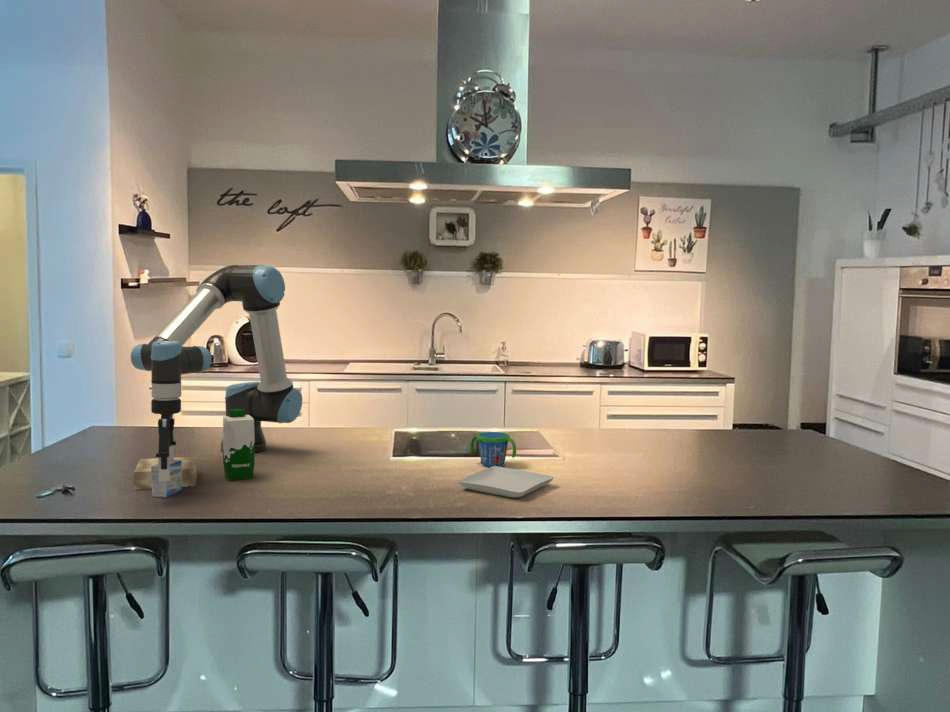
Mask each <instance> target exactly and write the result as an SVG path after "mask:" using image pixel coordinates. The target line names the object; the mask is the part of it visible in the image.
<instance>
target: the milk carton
mask: <svg viewBox="0 0 950 712" xmlns="http://www.w3.org/2000/svg"><path fill="white" fill-rule="evenodd" d="M222 439H223V452H222V457H223V458H222V464H223V471H224V476H225V477H226V478H227V480H228V481H238V480H240V481H241V480H249V479H254V473H255V472H254V471H255V455H256V452H255V442H254V419H253V418H252V417H251V416H250V415H244V409H231V410H230V416H226V415H223V416H222Z"/></svg>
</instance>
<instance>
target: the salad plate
mask: <svg viewBox="0 0 950 712" xmlns="http://www.w3.org/2000/svg"><path fill="white" fill-rule="evenodd" d="M553 480H554V476H552V475H547V474H542V473H537V472H531V471H526V470H522V469H515V468H511V467H510V468H509V467H503V466H501V467H498V466H493V467H487V468H485V469H482V470H479V471H478V472H476V473H473V474H470V475H467V476H466V477H463V478H460V479H458V480H457V483H458V484H459V485H460V486H462V487H464V488H465V489H468V490H472V491H475V492H479V491H480V493H484V492H485V494H489V493H491V494H490V495H495V494H496V495H495V496H500V495H501V497H507V498H512V499H513V498H522V497H524V496H526V495H528V494H530V493H532V492H533V491H536V490H537V489H541V488H543V487H545V486H546V485H548V484H550V483H551V482H552V481H553Z"/></svg>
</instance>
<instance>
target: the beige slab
mask: <svg viewBox="0 0 950 712" xmlns="http://www.w3.org/2000/svg"><path fill="white" fill-rule="evenodd" d="M173 460H181V461H182V488H185V487H186V488H188V486H191V487H196V484H197V478H198V456H178V457H173ZM158 463H159V457H155V458H140V459H139V460H138V463H137V465H136V467H135V468H134V471H133V489H134V490H135V491H136V490H149V489H151V490H152V480H151V466H153V465H156V464H158Z"/></svg>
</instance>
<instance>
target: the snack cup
mask: <svg viewBox="0 0 950 712" xmlns="http://www.w3.org/2000/svg"><path fill="white" fill-rule="evenodd" d="M476 439H477V441H478V448H479V449H478V450H479V456H480V463H481V465H482V466H483V467H485V468H486V467H487V468H490V467H493V466H498V467H503V466H504V465H505V462H506V457H507V451H508V445H509V442H510V443H511V447H512V454H511V457H512V459H514V458H515V457H516V455H517V446H516V442H515V441H514V439H513V438H512V437H511V436H510V434H509V433H506V432H502V431H501V432H500V431H486V432H479V433H477V435H475V436H473V437H472V439H471V441H470V446H469V450H470V453H471V454H474V453H475V451H476V450H475V445H474V443H475V441H476Z"/></svg>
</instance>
